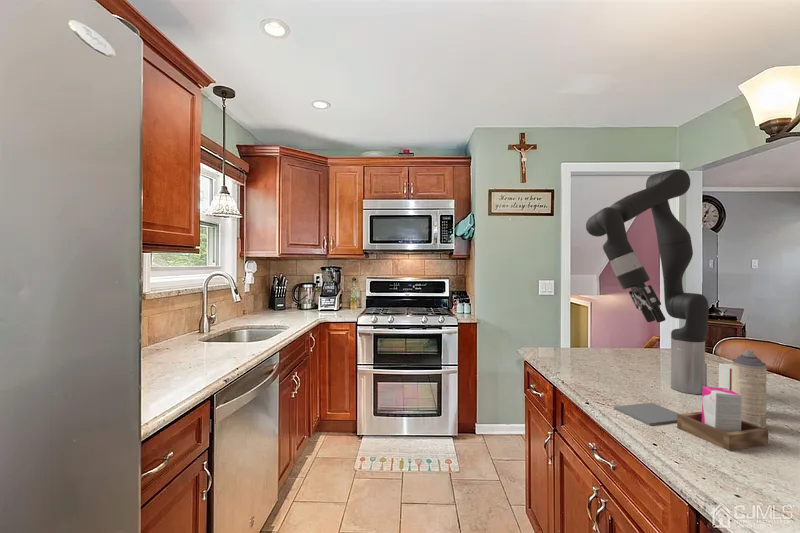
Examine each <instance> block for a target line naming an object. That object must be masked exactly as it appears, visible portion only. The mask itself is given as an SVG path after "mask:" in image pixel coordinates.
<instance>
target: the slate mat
mask: <svg viewBox="0 0 800 533" xmlns="http://www.w3.org/2000/svg"><path fill="white" fill-rule="evenodd" d="M613 409H614V410H616V411H618V412H620V413H623V414H624V415H626V416H629V417H630V418H633V419H635V420H637V421H640V422H642V423H643V424H646V425H648V426H656V425H665V424H672V423H673V424H674V423H677V414H680V413H679V412H676V411H674V410H672V409H669V408H666V407H664V406H661V405H659V404H656V403H654V402H645V403H637V404H636V403H635V404H627V405H625V404H624V405H617V406H613Z"/></svg>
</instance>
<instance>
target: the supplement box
mask: <svg viewBox="0 0 800 533" xmlns="http://www.w3.org/2000/svg"><path fill="white" fill-rule="evenodd" d="M701 396H702V398H701V400H702V401H701V412H702V423H705V424H707V425H710V426H712V427H715V428H717V429H720V430H722V431H725V432H727V433H729V432H736V431H741V410H742V395H740V394H738V393H735V392H733V391H731V390H729V389H727V388H719V387H716V386H715V387H712V386H707V387H704V386H703V391H702V394H701Z"/></svg>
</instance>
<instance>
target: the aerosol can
mask: <svg viewBox="0 0 800 533" xmlns="http://www.w3.org/2000/svg"><path fill="white" fill-rule="evenodd" d="M731 364H732V391H733V392H735V393H738V394H740V395H742V410H741V420H742V421H745V422H748V423H751V424H753V425H756V426H759V427H762V428H765V429H767V375H768V374H767V365H766V364H767V363H765V362H762V360H761V358H759V357H758V356H756V355H755V354H754V350H751V349H744V353H742V354H741V355H739V356H737V357H736V358H734V359H732V363H731Z"/></svg>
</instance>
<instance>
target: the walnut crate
mask: <svg viewBox="0 0 800 533" xmlns="http://www.w3.org/2000/svg"><path fill="white" fill-rule="evenodd" d="M676 427H677V428H676V429H678V430H682V431H684V432H685V433H688V434H691V435H692V436H695V437H698V438H700V439H702V440H704V441H706V442H709V443H711V444H712V445H715V446H718V447H720V448H722V449H724V450H727V451H736V450H744V449H748V448H753V447H754V448H755V447H761V446H767V445H769V429H767V428H766V429H765V428H762V427H759V426H756V425H753V424H751V423H748V422H745V421H742V420H741V431H736V432H729V433H727V432H725V431H722V430H720V429H717V428H715V427H712V426H710V425H707V424H705V423H702V411H697V412H696V411H695V412H686V413H679V414H677V422H676Z"/></svg>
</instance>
